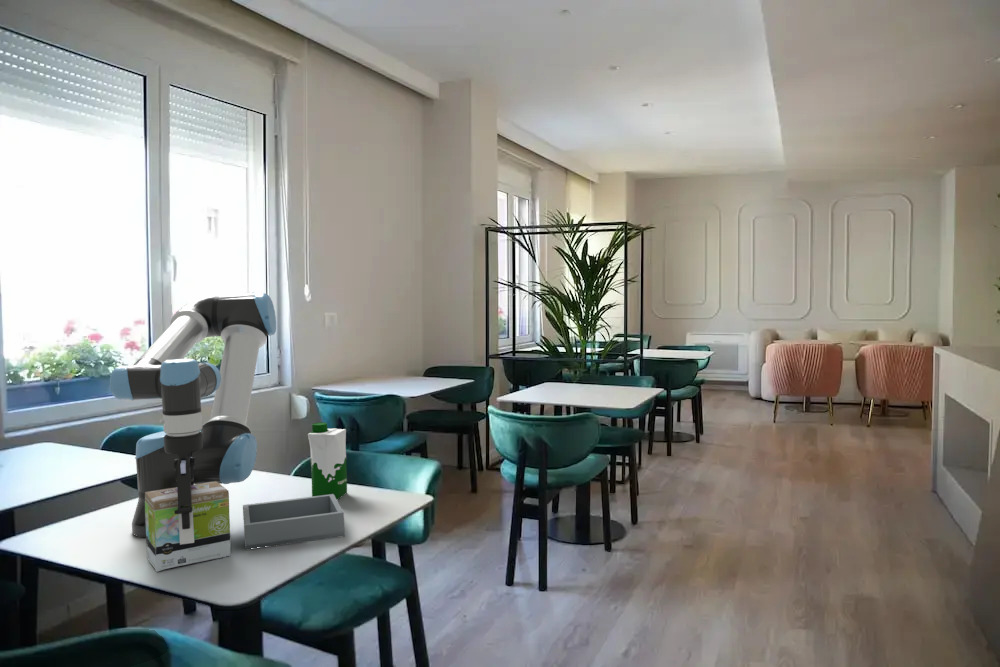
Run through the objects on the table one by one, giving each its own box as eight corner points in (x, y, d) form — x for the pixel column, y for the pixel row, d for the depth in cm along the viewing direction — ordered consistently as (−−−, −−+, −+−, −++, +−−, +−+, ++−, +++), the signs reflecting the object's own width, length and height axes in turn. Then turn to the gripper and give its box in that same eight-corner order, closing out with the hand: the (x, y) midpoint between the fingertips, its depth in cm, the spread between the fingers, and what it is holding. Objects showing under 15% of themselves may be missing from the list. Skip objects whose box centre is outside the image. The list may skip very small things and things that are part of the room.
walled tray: (243, 527, 177) (242, 504, 177) (334, 515, 184) (333, 493, 184) (245, 550, 162) (244, 525, 161) (344, 536, 169) (343, 512, 169)
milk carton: (321, 491, 207) (318, 420, 205) (352, 492, 205) (349, 421, 204) (307, 500, 198) (304, 426, 197) (338, 501, 196) (335, 427, 195)
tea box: (156, 573, 149) (152, 502, 148) (146, 559, 157) (142, 491, 156) (232, 556, 158) (229, 488, 157) (219, 543, 166) (216, 478, 165)
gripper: (167, 424, 166) (172, 520, 167) (159, 445, 144) (165, 555, 145) (203, 421, 168) (208, 516, 170) (200, 441, 146) (206, 549, 148)
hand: (188, 534), depth 157 cm, fingers closed on tea box, 11 cm apart
